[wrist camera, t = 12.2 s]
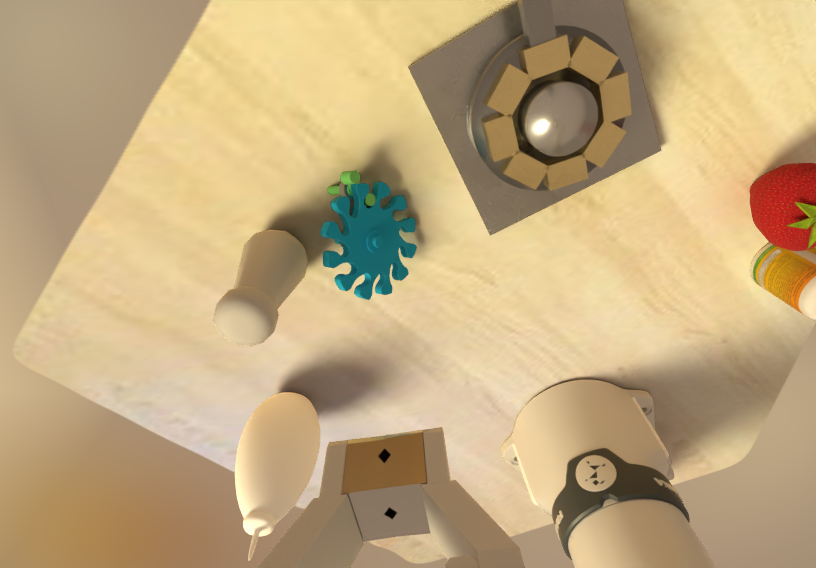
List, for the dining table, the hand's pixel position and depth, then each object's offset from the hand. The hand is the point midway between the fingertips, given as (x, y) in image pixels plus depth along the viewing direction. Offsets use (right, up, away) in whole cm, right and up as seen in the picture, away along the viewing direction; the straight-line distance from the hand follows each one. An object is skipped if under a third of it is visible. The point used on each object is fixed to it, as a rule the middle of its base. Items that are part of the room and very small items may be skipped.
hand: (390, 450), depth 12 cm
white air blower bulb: (-13, -9, +40) cm, 43 cm away
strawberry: (+32, +13, +30) cm, 46 cm away
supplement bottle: (+37, +7, +34) cm, 51 cm away
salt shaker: (-12, +8, +31) cm, 34 cm away
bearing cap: (+11, +19, +26) cm, 34 cm away
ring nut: (+10, +21, +21) cm, 31 cm away
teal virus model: (-3, +10, +30) cm, 32 cm away
